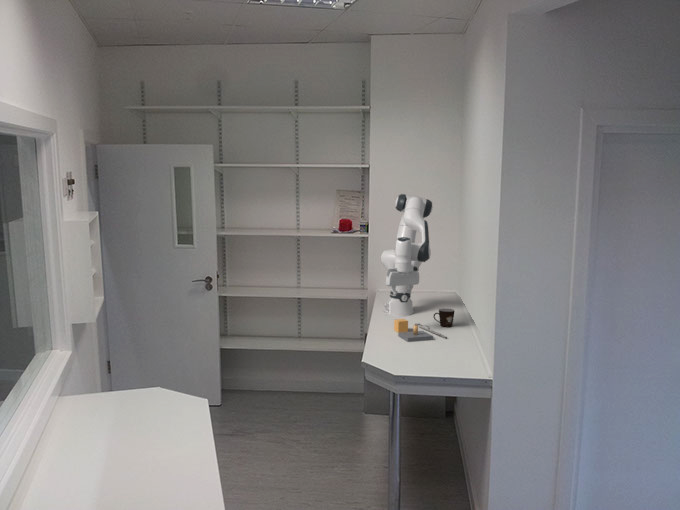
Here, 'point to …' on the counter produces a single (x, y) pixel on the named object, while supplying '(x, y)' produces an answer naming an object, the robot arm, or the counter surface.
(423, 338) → the flat gray plate
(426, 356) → the counter surface
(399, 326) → the tan wooden cube
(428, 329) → the caliper
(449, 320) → the coffee mug
